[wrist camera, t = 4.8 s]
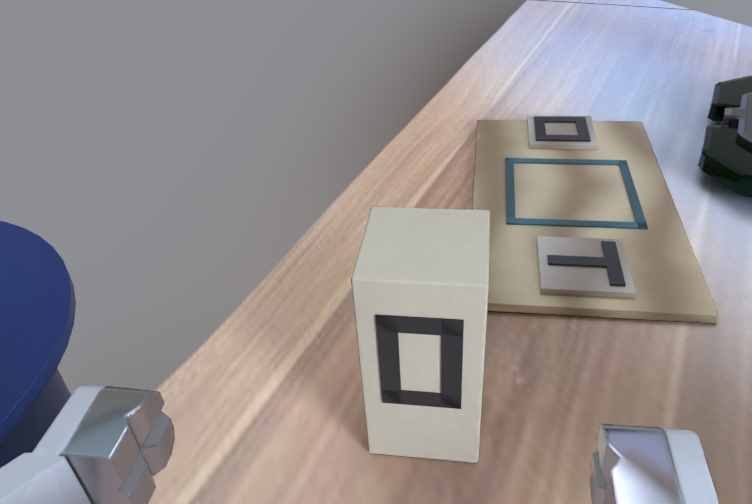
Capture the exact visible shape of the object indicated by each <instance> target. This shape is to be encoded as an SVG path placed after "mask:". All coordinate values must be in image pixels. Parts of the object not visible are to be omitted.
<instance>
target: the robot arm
mask: <svg viewBox="0 0 752 504" xmlns="http://www.w3.org/2000/svg"><path fill="white" fill-rule="evenodd" d="M163 405H164V401H163V398H162V396H161V394H160V392H158V391H149V390H140V389H130V388H120V387H111V386H100V385H88V384H83V385H81V386H80V387H79V388H77V389H76V390H75V391H74V392H73V394H72V395H71V397H70V398H69V399H68V401H67V402H66V404H65V405H64V407H63V408H62V410H61V411H60V413H59V414H58V416H57V417H56V418H55V420H54V421H53V423H52V424H51V426H50V427H49V429H48V430H47V432H46V433H45V434H44V436H43V437H42V439H41V440H40V442H39V443H38V445H37V446H36V448H35V449H34V451H33V452H32V453H23V454H22V455H20V456H19V457H17V458H16V459H14V460H13V461H11V462H9V463H8V464H6V465H5V466H3V467H2V468H0V504H148V503H149V501H150V499H151V496H152V494H153V492H154V490H155V488H156V485H155V481H154V477H153V476H154V475H156V474H157V473H158V472H159V471H161V470H162V469H163V468H165V467H166V465H167V463H168V461H169V458H170V456H171V454H172V449H173V444H174V439H175V436H174V426H173V424H172V421H171V418H169V417H168V416H167V415H166V414H164V413H163V412H162V411H161V409H162V407H163ZM597 444H598V451H596V452H595V453H593V457H592V463H591V475H590V486H591V499H592V504H719V502H718V499H717V496H716V492H715V489H714V486H713V483H712V479H711V476H710V473H709V469H708V466H707V463H706V460H705V456H704V453H703V450H702V446H701V443H700V440H699V437H698V435H697V434H696V433H695V431H691V430H677V429H664V428H663V429H661V428H659V427H643V426H627V425H611V424H601V425H600V427H599V429H598V433H597Z"/></svg>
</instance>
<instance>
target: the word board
mask: <svg viewBox="0 0 752 504" xmlns="http://www.w3.org/2000/svg"><path fill="white" fill-rule="evenodd" d="M472 210H489V211H490V236H489V286H488V304H487V311H503V312H521V313H539V314H557V315H574V316H592V317H610V318H628V319H646V320H663V321H681V322H699V323H716V322H717V319H718V313H717V310H716V308H715V305H714V303H713V300H712V298H711V295H710V293H709V290H708V288H707V285H706V282H705V280H704V277H703V275H702V272H701V270H700V267H699V265H698V262H697V260H696V257H695V255H694V252H693V250H692V247H691V245H690V242H689V240H688V237H687V235H686V232H685V229H684V227H683V224H682V222H681V219H680V217H679V214H678V212H677V209H676V207H675V204H674V202H673V199H672V197H671V194H670V192H669V189H668V187H667V184H666V181H665V179H664V176H663V174H662V171H661V169H660V166H659V164H658V161H657V159H656V156H655V154H654V151H653V149H652V146H651V144H650V141H649V139H648V136H647V134H646V131H645V128H644V126H643V123H642V122H628V121H592V120H591V116H527V120H477V135H476V152H475V169H474V186H473V202H472Z"/></svg>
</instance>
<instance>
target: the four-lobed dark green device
mask: <svg viewBox="0 0 752 504" xmlns="http://www.w3.org/2000/svg"><path fill="white" fill-rule="evenodd" d="M708 118H709V119H710V120H712V121H718V122H721V125H720V126H716V125H712V126H707V128H706V132H705V136H704V139H703V144H702V149H701V154H700V159H699V164H698V166H699V167H700V169H701V170H702V171H703V172H705V173H706V174H708V175H710V176H711V177H713V178H714V179H716V180H717V181H719V182H721V183H722V184H724V185H725V186H727V187H728V188H730V189H731V190H733V191H734V192H737V193H739V194H742V195H745V196H749V197H752V76H747V77H743V78H738V79H733V80H729V81H724V82H719V83H718V84H716V85H715V88H714V91H713V95H712V99H711V104H710V109H709V114H708Z"/></svg>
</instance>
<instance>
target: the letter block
mask: <svg viewBox="0 0 752 504" xmlns="http://www.w3.org/2000/svg"><path fill="white" fill-rule="evenodd" d="M489 236H490V211H489V210H467V209H436V208H406V207H375V206H373V207H372V208H371V211H370V215H369V218H368V222H367V225H366V229H365V232H364V236H363V239H362V243H361V246H360V250H359V254H358V257H357V261H356V264H355V268H354V271H353V275H352V278H351V284H352V293H353V303H354V312H355V322H356V331H357V341H358V350H359V360H360V369H361V379H362V388H363V398H364V407H365V417H366V426H367V436H368V445H369V452H370V453H375V454H385V455H396V456H407V457H418V458H429V459H440V460H450V461H461V462H472V463H477V462H478V457H479V440H480V423H481V406H482V389H483V372H484V355H485V338H486V321H487V304H488V286H489Z"/></svg>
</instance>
